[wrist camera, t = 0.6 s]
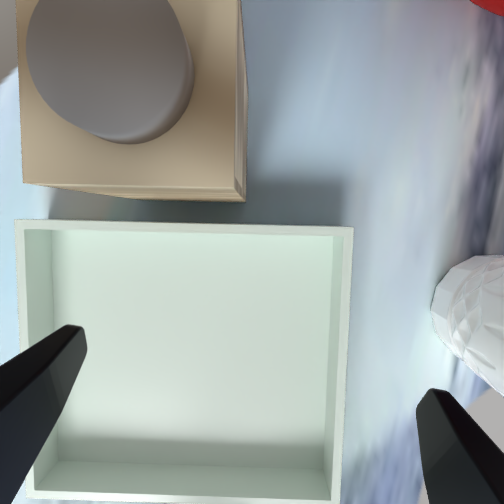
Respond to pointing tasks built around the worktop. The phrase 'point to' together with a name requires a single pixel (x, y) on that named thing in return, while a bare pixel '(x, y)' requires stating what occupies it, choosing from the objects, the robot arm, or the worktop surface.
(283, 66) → the worktop surface
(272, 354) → the tray
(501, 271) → the white cup
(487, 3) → the ceramic cup
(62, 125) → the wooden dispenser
